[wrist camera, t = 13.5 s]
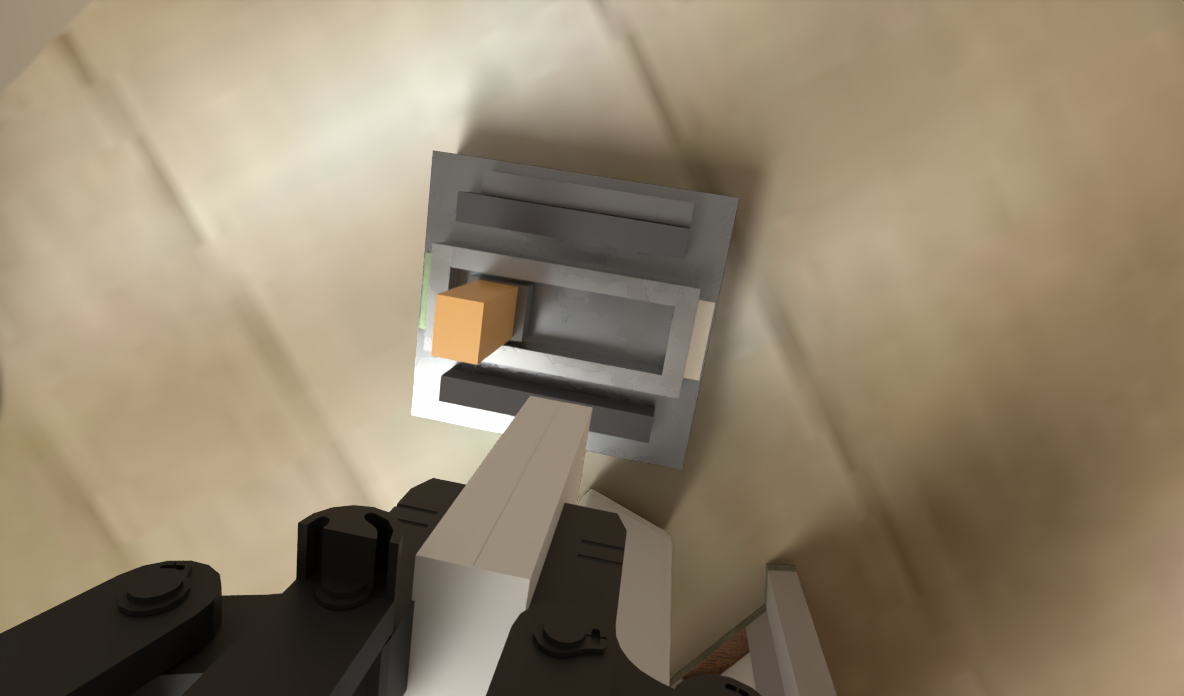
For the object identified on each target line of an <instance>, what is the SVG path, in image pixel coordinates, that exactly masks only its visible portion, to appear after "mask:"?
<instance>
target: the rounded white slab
mask: <svg viewBox="0 0 1184 696" xmlns="http://www.w3.org/2000/svg"><path fill="white" fill-rule="evenodd" d="M578 505H579V506H584V507H589V508H594V509H599V510H603V511H608V512H613V513H618V515H619V517H620V519H621V521H622V522H623V524H624V526H625V528H626V530H627V534H626V543H625V550H624V559H623V566H622V567H623V568H622V576H621V585H620V593H619V602H618V610H617V619H616V637H617V639H618V642H619V645H620V647H621V649H622V650H623V652H624V653H625V655H626V656H627V657H628V659H629V660H630V661H631V662H632V663H633V664H634V665H635V666H637V667H638V668H639V669H640V670H641V671H643V672H644V673H646V674H647V675H649V676H651V677H652V678H654V679H656V680H657V681H659V682H661V683H663V684H665V685H667V686H669V680H670V632H671V584H672V541H671V538H670V536H669V533H668V532H666V531H664V530H662V529H661V528H659V527H657V526H655V525H654V524H652V523H650V522H649V521H647V520H645V519H643V518H642V517H640V516H638V515H636V514H635V513H633V512H631V511H630V510H628V509H626V508H624V507H623V506H621V505H619V504H618V503H616V502H614V501H612V500H611V499H609V498H607V497H605V496H604V495H602V494H600V493H599V492H597V491H595V490H593V489H590V490H589V491H588V492H587V493H586V494H585V495H584V496H583V497H582V499H581V500H580V502H579V503H578Z"/></svg>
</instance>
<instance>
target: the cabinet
mask: <svg viewBox="0 0 1184 696" xmlns="http://www.w3.org/2000/svg"><path fill="white" fill-rule="evenodd" d="M709 673H710V674H716V675H721V676H726V677H731V678H733V679H735V680H737V681H739V682H741V683H744V684H746V685H748V686H750V687H752V688H753V689H754V690H756V691H757V692H758V693H759V694H760V695H762V696H837V694H836V691H835V688H834V685H833V682H832V679H831V676H830V673H829V669H828V666H827V663H826V660H825V657H824V654H823V651H822V648H821V645H820V642H819V639H818V636H817V633H816V630H815V627H814V624H813V620H812V617H811V614H810V611H809V608H808V605H807V602H806V599H805V596H804V593H803V590H802V587H801V584H800V581H799V578H798V575H797V571H796V568H795V565H781V564H766V589H765V604H764V605H763V606H761V607H760V608H759V609H757V610H756V611H755V612H754V613H752V614H751V615H750V616H749V617H747V618H746V619H745V620H744V621H742V622H741V623H740V624H739V625H737V626H736V627H735V628H733V629H732V630H731V631H730V632H728V633H727V634H726V635H725V636H723V637H722V638H721V639H720V640H718V641H717V642H716V643H715V644H713V645H712V646H711V647H710V648H708V649H707V650H706V651H704V652H703V653H702V654H701V655H699V656H698V657H697V658H696V659H694V660H693V661H692V662H691V663H689V664H688V665H687V666H686V667H684V668H683V669H682V670H681V671H679V672H678V673H677V674H675V675H674V676H673V677H672V678H670V680H669V687H671V688H673V689H675V687H676V685H678V684H679V683H681V682H682V681H684V680H686V679H687V678H689V677H690V676H695V675H702V674H709Z"/></svg>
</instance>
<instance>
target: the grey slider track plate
mask: <svg viewBox="0 0 1184 696" xmlns="http://www.w3.org/2000/svg"><path fill="white" fill-rule="evenodd" d="M483 194H486V195H483ZM489 195H492V196H489ZM496 196H499V197H496ZM502 197H505V198H502ZM508 198H511V199H508ZM514 199H517V200H514ZM520 200H523V201H520ZM526 201H530V202H526ZM533 202H536V203H533ZM539 203H542V204H539ZM545 204H548V205H545ZM694 204H695V203H692V202H685V201H679V200H673V199H666V198H660V197H654V196H647V195H641V194H635V193H628V192H622V191H615V190H609V189H603V188H596V187H590V186H584V185H577V184H571V183H565V182H558V181H552V180H545V179H539V178H533V177H526V176H520V175H514V174H507V173H501V172H495V171H488V170H483V175H482V185H481V194H477V193H471V192H461V191H458V198H457V209H456V220H455V221H457V222H463V223H469V224H475V225H481V226H487V227H493V228H499V229H505V230H511V231H517V232H523V233H529V234H535V235H541V236H547V237H553V238H559V239H565V240H571V241H577V242H583V243H589V244H595V245H601V246H607V247H613V248H619V249H625V250H631V251H637V252H643V253H648V254H654V255H660V256H666V257H672V258H678V259H684V257H685V252H686V247H687V242H688V236H689V231H690V228H687V227H690V225H691V220H692V215H693V210H694ZM551 205H554V206H551ZM557 206H561V207H557ZM564 207H567V208H564ZM570 208H573V209H570ZM576 209H579V210H576ZM582 210H585V211H582ZM588 211H591V212H588ZM595 212H598V213H595ZM601 213H604V214H601ZM607 214H610V215H607ZM613 215H616V216H613ZM619 216H622V217H619ZM625 217H629V218H625ZM632 218H635V219H632ZM638 219H641V220H638ZM644 220H647V221H644ZM650 221H653V222H650ZM656 222H660V223H656ZM663 223H666V224H663ZM669 224H672V225H669ZM675 225H678V226H675ZM681 226H684V227H681ZM530 396H534V397H540V398H545V399H550V400H555V401H561V402H566V403H571V404H577V405H582V406H587V407H593V408H592V414H591V421H590V427H589V431H590V432H595V433H600V434H605V435H610V436H615V437H620V438H625V439H630V440H635V441H640V442H645V443H649V440H650V434H651V429H652V424H653V419H654V411H655V408H653V407H648V406H642V405H637V404H632V403H627V402H622V401H617V400H612V399H606V398H601V397H596V396H591V395H586V394H581V393H576V392H570V391H565V390H560V389H555V388H550V387H545V386H540V385H534V384H529V383H524V382H519V381H514V380H509V379H503V378H498V377H493V376H488V375H483V374H478V373H473V372H467V371H462V370H457V369H452V368H451V369H449V370H448V371H447V372H445V373H444V374H442V375H441V380H440V390H439V401H441V402H446V403H451V404H456V405H461V406H466V407H471V408H476V409H481V410H486V411H491V412H496V413H501V414H506V415H510V416H516V415H517V413H518V412H519V411H520V409H521V408H522V406H523V405H524V404H525V402H526V401H527V400H528V398H529V397H530Z"/></svg>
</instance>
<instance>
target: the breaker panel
mask: <svg viewBox="0 0 1184 696" xmlns="http://www.w3.org/2000/svg"><path fill="white" fill-rule="evenodd" d="M483 170H488V171H495V172H501V173H507V174H514V175H520V176H526V177H533V178H539V179H545V180H552V181H558V182H565V183H571V184H577V185H584V186H590V187H596V188H603V189H609V190H615V191H622V192H628V193H635V194H641V195H647V196H654V197H660V198H666V199H673V200H679V201H685V202H692V203H695V204H694V210H693V215H692V220H691V225H690V227H687V228H690V231H689V236H688V242H687V247H686V252H685V257H684V259H678V258H672V257H666V256H660V255H654V254H648V253H643V252H637V251H631V250H625V249H619V248H613V247H607V246H601V245H595V244H589V243H583V242H577V241H571V240H565V239H559V238H553V237H547V236H541V235H535V234H529V233H523V232H517V231H511V230H505V229H499V228H493V227H487V226H481V225H475V224H469V223H463V222H457V221H455V220H456V209H457V198H458V191H461V192H471V193H477V194H481V185H482V175H483ZM483 195H486V194H483ZM489 196H492V195H489ZM496 197H499V196H496ZM502 198H505V197H502ZM508 199H511V198H508ZM514 200H517V199H514ZM520 201H523V200H520ZM526 202H530V201H526ZM738 202H739V198H736V197H730V196H723V195H717V194H711V193H704V192H698V191H691V190H685V189H678V188H672V187H665V186H659V185H653V184H646V183H640V182H633V181H627V180H620V179H614V178H607V177H601V176H595V175H588V174H582V173H575V172H569V171H562V170H556V169H549V168H543V167H536V166H530V165H524V164H517V163H511V162H504V161H498V160H491V159H485V158H478V157H472V156H466V155H459V154H453V153H446V152H440V151H433V156H432V168H431V180H430V193H429V205H428V217H427V229H426V241H425V254H424V266H423V278H422V290H421V302H420V315H419V327H418V339H417V351H416V364H415V376H414V388H413V400H412V412H411V415H414V416H419V417H423V418H428V419H433V420H438V421H443V422H448V423H453V424H458V425H463V426H468V427H472V428H477V429H482V430H487V431H492V432H497V433H502V434H503V433H504V432H505V430H506V429H507V427H508V426H509V425H510V423H511V422H512V420H513V419H514V418H515V416H510V415H506V414H501V413H496V412H491V411H486V410H481V409H476V408H471V407H466V406H461V405H456V404H451V403H446V402H441V401H439V390H440V380H441V375H442V374H444V373H445V372H447V371H448V370H449V369H451V368H452V369H457V370H462V371H467V372H473V373H478V374H483V375H488V376H493V377H498V378H503V379H509V380H514V381H519V382H524V383H529V384H534V385H540V386H545V387H550V388H555V389H560V390H565V391H570V392H576V393H581V394H586V395H591V396H596V397H601V398H606V399H612V400H617V401H622V402H627V403H632V404H637V405H642V406H648V407H653V408H655V411H654V419H653V424H652V429H651V434H650V440H649V443H645V442H640V441H635V440H630V439H625V438H620V437H615V436H610V435H605V434H600V433H595V432H590V431H589V433H588V439H587V445H586V451H590V452H595V453H600V454H604V455H609V456H614V457H619V458H624V459H629V460H634V461H639V462H644V463H649V464H653V465H658V466H663V467H668V468H673V469H678V470H682V468H683V464H684V459H685V454H686V449H687V445H688V440H689V435H690V430H691V425H692V421H693V416H694V411H695V406H696V402H697V397H698V392H699V387H700V383H701V378H702V373H703V368H704V364H705V359H706V354H707V349H708V344H709V340H710V335H711V330H712V325H713V321H714V316H715V311H716V306H717V302H718V297H719V292H720V287H721V283H722V278H723V273H724V268H725V263H726V259H727V254H728V249H729V244H730V240H731V235H732V230H733V225H734V221H735V216H736V211H737V206H738ZM533 203H536V202H533ZM539 204H542V203H539ZM545 205H548V204H545ZM551 206H554V205H551ZM557 207H561V206H557ZM564 208H567V207H564ZM570 209H573V208H570ZM576 210H579V209H576ZM582 211H585V210H582ZM588 212H591V211H588ZM595 213H598V212H595ZM601 214H604V213H601ZM607 215H610V214H607ZM613 216H616V215H613ZM619 217H622V216H619ZM625 218H629V217H625ZM632 219H635V218H632ZM638 220H641V219H638ZM644 221H647V220H644ZM650 222H653V221H650ZM656 223H660V222H656ZM663 224H666V223H663ZM669 225H672V224H669ZM675 226H678V225H675ZM681 227H684V226H681ZM477 273H478V274H484V275H490V276H495V277H501V278H507V279H513V280H518V281H524V282H530V283H534V291H533V299H532V306H531V314H530V322H529V330H528V337H527V338H526V339H524V340H523V341H522V342H519V341H514V340H509V341H508V342H506V343H505V344H504V345H502V346H501V347H500V348H499V349H497V350H496V351H495V352H493V353H492V354H491V355H489V356H488V357H487V358H485V359H484V360H483V361H482V362H480V363H479V364H478V365H476V364H471V363H466V362H460V361H455V360H450V359H445V358H440V357H434V356H431V350H432V338H433V327H434V316H435V305H436V294H439V293H442V292H444V291H447V290H450V289H453V288H456V287H459V286H462V285H465V284H468V283H469V276H470V275H474V274H477Z"/></svg>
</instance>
